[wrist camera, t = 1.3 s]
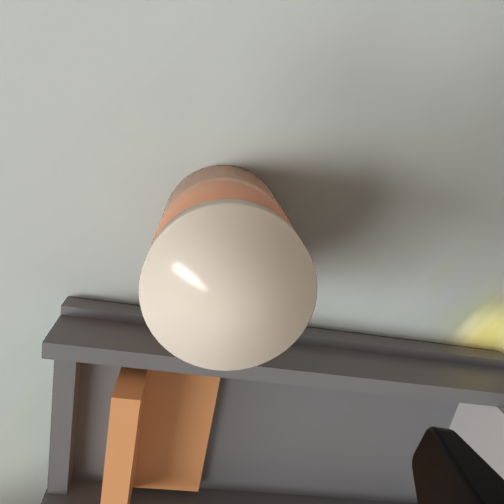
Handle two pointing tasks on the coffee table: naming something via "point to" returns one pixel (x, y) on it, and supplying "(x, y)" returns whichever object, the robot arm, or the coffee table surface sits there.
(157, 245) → the jar
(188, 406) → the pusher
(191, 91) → the coffee table surface
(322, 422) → the lane
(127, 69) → the coffee table surface
